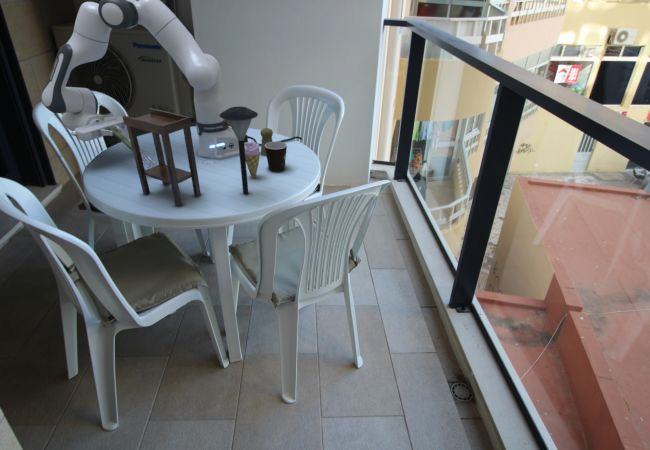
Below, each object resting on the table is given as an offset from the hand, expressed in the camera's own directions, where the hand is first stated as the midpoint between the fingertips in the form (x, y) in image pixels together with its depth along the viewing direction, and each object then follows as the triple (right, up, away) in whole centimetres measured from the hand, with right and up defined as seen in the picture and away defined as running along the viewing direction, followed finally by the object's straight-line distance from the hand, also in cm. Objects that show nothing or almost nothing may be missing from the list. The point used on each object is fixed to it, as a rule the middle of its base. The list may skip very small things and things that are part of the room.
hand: (116, 132), depth 148 cm
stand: (+25, -25, -11) cm, 37 cm away
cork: (+54, -4, +23) cm, 59 cm away
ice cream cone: (+51, -17, +2) cm, 54 cm away
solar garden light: (+51, -24, -9) cm, 57 cm away
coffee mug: (+60, -12, +11) cm, 63 cm away
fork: (+6, -6, 0) cm, 9 cm away
